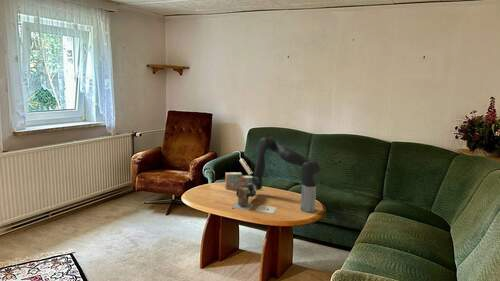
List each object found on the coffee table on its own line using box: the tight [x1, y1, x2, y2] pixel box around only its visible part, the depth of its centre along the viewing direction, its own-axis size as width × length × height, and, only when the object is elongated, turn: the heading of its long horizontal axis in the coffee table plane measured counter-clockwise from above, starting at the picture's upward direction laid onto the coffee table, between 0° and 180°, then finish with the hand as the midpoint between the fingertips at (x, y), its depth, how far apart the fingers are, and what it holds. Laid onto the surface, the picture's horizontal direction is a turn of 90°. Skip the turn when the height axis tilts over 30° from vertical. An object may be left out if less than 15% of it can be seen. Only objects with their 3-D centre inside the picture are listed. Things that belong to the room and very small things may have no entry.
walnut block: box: [237, 187, 249, 206], centre depth 249 cm, size 6×6×11 cm
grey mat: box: [231, 201, 255, 211], centre depth 250 cm, size 12×12×1 cm
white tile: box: [255, 204, 278, 214], centre depth 245 cm, size 12×12×1 cm
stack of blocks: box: [224, 171, 254, 190], centre depth 293 cm, size 21×6×12 cm, turn 102°
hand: (242, 196), depth 246 cm, fingers closed on walnut block, 5 cm apart
